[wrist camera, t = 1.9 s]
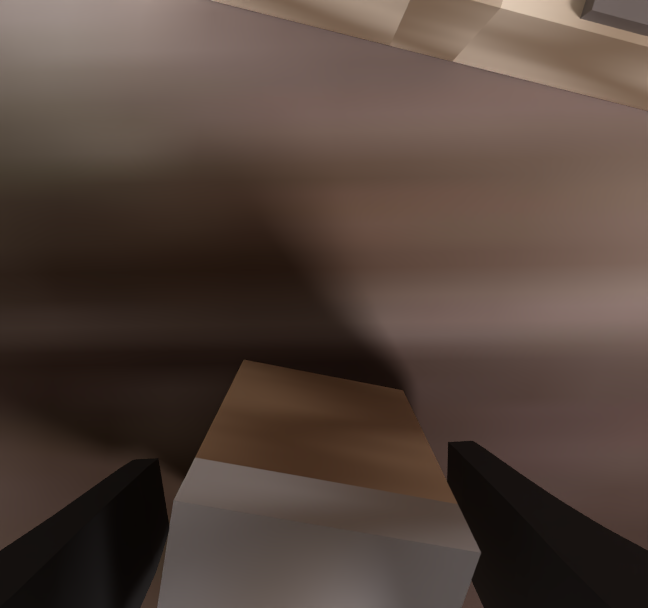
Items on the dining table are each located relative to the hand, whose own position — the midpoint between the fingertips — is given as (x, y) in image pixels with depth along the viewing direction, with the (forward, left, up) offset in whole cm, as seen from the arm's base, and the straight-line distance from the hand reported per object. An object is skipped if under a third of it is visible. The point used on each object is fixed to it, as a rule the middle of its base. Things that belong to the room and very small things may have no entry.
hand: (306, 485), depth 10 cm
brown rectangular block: (0, 0, -2) cm, 2 cm away
